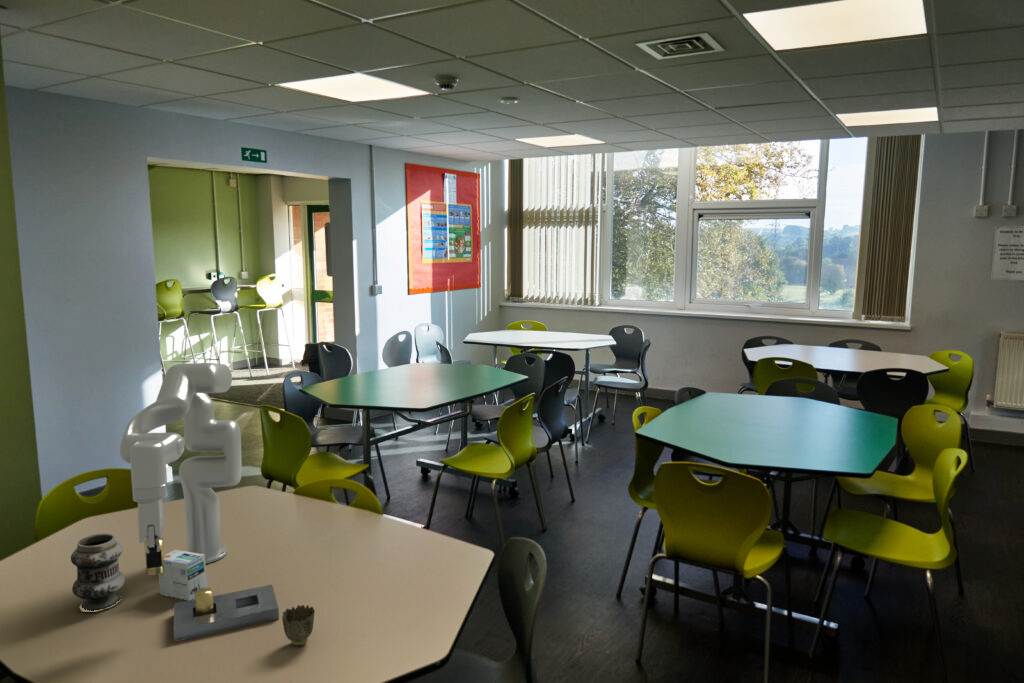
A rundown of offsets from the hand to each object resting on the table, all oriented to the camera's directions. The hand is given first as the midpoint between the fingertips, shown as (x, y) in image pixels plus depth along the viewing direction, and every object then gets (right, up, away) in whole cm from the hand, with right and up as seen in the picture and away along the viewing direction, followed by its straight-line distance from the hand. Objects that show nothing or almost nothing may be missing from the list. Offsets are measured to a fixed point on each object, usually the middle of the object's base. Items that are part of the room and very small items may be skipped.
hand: (155, 562), depth 168 cm
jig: (+15, -16, +7) cm, 23 cm away
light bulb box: (-3, -15, +20) cm, 25 cm away
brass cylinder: (0, -2, 0) cm, 2 cm away
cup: (+37, -18, -5) cm, 42 cm away
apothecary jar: (-22, -16, +14) cm, 30 cm away
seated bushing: (+10, -17, +5) cm, 20 cm away
